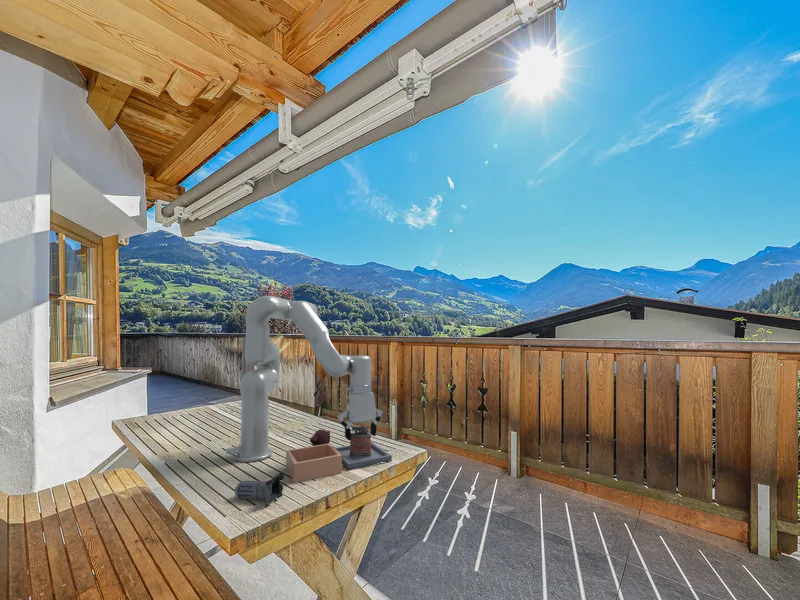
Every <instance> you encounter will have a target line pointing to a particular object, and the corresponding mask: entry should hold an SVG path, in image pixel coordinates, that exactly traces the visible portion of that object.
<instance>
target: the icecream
mask: <svg viewBox="0 0 800 600" xmlns="http://www.w3.org/2000/svg"><path fill="white" fill-rule="evenodd" d="M330 440H331V431H330V430H325V429H318V430H317V431H315V432H314V434H313V435H312V436H311V437H310V439H309V441H310V444H311V445H312V446H317V445H323V444H329V443H330Z"/></svg>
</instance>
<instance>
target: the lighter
mask: <svg viewBox="0 0 800 600" xmlns="http://www.w3.org/2000/svg"><path fill="white" fill-rule="evenodd" d="M352 431H353V432H352ZM368 431H369V427H364V426H363V425H361V426H360V427H359V426H351V440H349V441H350V443H349V445H350V456H356V457H370V456H371V442H372V435H371V432H368Z"/></svg>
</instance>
